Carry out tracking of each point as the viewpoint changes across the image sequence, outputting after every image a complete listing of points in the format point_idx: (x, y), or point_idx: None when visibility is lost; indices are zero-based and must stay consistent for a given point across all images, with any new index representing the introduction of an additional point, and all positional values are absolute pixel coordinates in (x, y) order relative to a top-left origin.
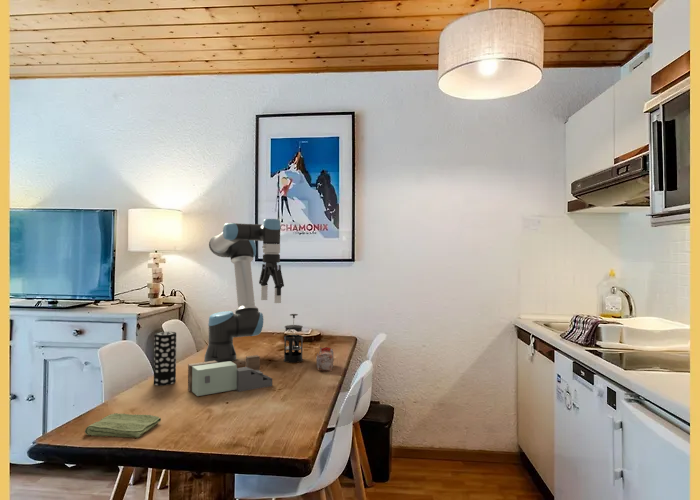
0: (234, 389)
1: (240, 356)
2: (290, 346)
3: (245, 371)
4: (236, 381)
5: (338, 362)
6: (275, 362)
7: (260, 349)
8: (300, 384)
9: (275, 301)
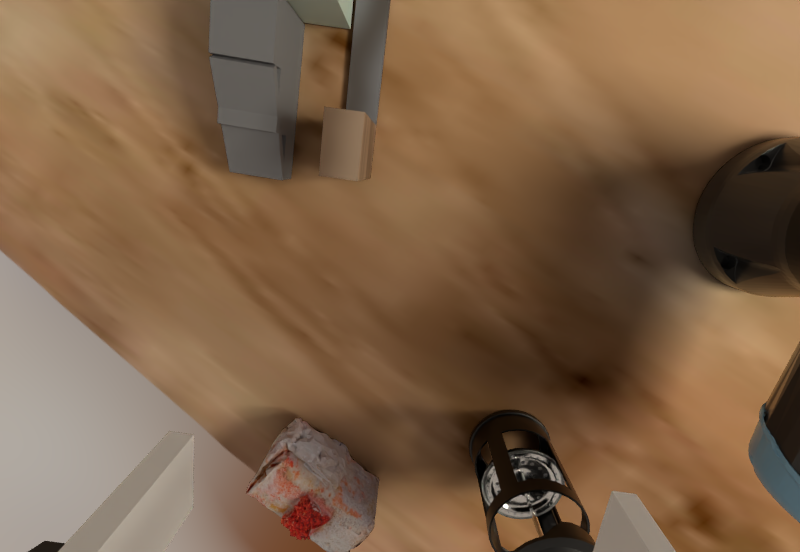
0: None
1: (747, 322)
2: (502, 464)
3: (212, 20)
4: None
5: None
6: (534, 375)
7: None
8: (196, 264)
9: (153, 449)
